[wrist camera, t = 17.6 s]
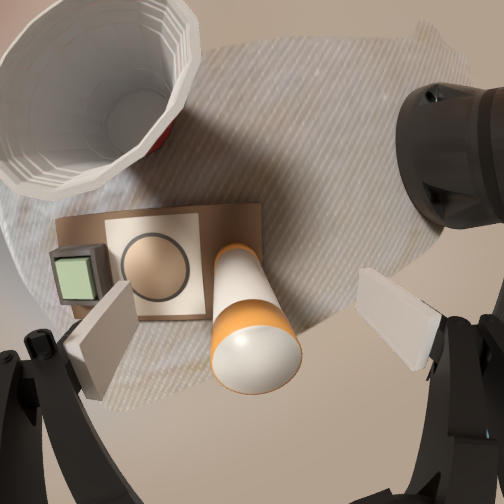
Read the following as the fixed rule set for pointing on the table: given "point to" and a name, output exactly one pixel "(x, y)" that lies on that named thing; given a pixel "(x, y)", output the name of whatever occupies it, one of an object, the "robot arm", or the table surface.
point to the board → (157, 254)
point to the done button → (76, 277)
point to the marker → (249, 326)
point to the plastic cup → (92, 91)
